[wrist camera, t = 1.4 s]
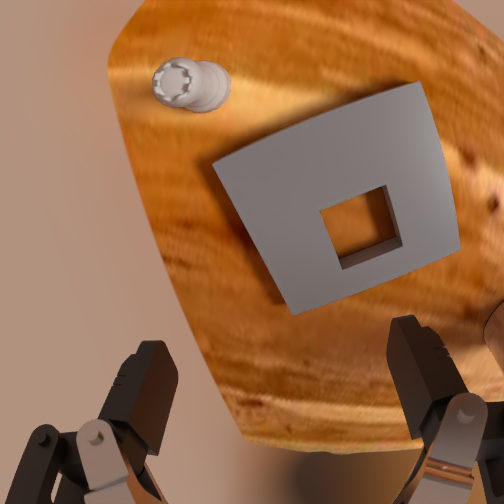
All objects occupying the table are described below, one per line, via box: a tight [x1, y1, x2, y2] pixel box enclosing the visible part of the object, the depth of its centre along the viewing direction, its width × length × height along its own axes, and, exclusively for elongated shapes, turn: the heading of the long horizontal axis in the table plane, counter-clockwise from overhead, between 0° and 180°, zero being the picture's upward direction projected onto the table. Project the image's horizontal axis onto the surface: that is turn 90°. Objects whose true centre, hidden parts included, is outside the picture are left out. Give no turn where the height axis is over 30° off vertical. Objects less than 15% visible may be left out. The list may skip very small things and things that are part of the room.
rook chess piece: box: [152, 57, 231, 113], centre depth 18 cm, size 4×4×8 cm
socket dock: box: [212, 81, 461, 316], centre depth 24 cm, size 18×16×2 cm
